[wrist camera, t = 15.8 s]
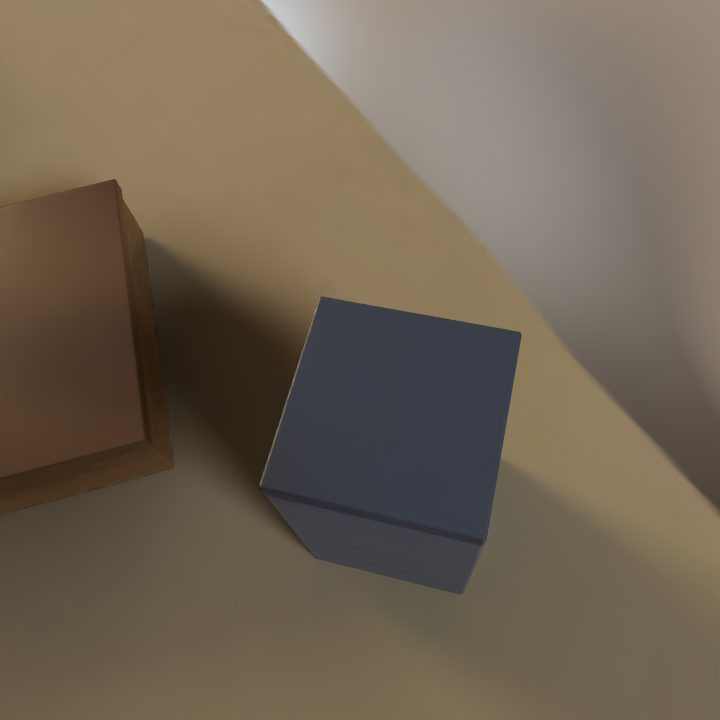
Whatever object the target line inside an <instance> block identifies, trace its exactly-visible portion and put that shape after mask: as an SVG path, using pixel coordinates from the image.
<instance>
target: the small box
mask: <svg viewBox="0 0 720 720" xmlns="http://www.w3.org/2000/svg"><path fill="white" fill-rule="evenodd" d="M521 336H522V335H521V333H520V332H517V331H511V330H506V329H500V328H495V327H489V326H483V325H478V324H472V323H467V322H461V321H455V320H450V319H444V318H439V317H433V316H427V315H422V314H416V313H411V312H405V311H399V310H394V309H388V308H383V307H377V306H371V305H366V304H360V303H355V302H349V301H343V300H338V299H332V298H327V297H320V298H319V300H318V303H317V306H316V309H315V312H314V316H313V319H312V322H311V325H310V328H309V331H308V334H307V337H306V341H305V344H304V347H303V350H302V353H301V356H300V359H299V362H298V366H297V369H296V372H295V375H294V378H293V381H292V384H291V387H290V391H289V394H288V397H287V400H286V403H285V406H284V409H283V412H282V416H281V419H280V422H279V425H278V428H277V431H276V434H275V438H274V441H273V444H272V447H271V450H270V453H269V456H268V459H267V463H266V466H265V469H264V472H263V475H262V478H261V481H260V484H259V488H260V489H261V490H262V492H263V493H264V494H265V495H266V497H267V498H268V499H269V500H270V502H271V503H272V504H273V505H274V507H275V508H276V509H277V510H278V512H279V513H280V514H281V516H282V517H283V518H284V519H285V521H286V522H287V523H288V524H289V526H290V527H291V528H292V529H293V531H294V532H295V533H296V535H297V536H298V537H299V538H300V540H301V541H302V542H303V543H304V545H305V546H306V547H307V548H308V550H309V551H310V552H311V554H312V555H313V556H314V557H315V558H317V559H321V560H325V561H329V562H333V563H337V564H341V565H345V566H349V567H353V568H357V569H361V570H365V571H369V572H373V573H377V574H381V575H385V576H389V577H393V578H397V579H401V580H405V581H409V582H413V583H417V584H421V585H425V586H429V587H433V588H437V589H441V590H445V591H449V592H453V593H457V594H463V593H464V590H465V588H466V586H467V583H468V581H469V578H470V576H471V574H472V571H473V569H474V567H475V564H476V562H477V560H478V557H479V555H480V552H481V550H482V548H483V545H484V543H485V541H486V539H487V533H488V527H489V521H490V515H491V510H492V504H493V498H494V492H495V486H496V481H497V475H498V469H499V463H500V457H501V452H502V446H503V440H504V434H505V428H506V423H507V417H508V411H509V405H510V399H511V394H512V388H513V382H514V376H515V370H516V365H517V359H518V353H519V347H520V341H521Z"/></svg>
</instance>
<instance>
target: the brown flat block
mask: <svg viewBox="0 0 720 720" xmlns="http://www.w3.org/2000/svg"><path fill="white" fill-rule="evenodd" d="M172 468H174V461H173V453H172V446H171V438H170V431H169V423H168V416H167V408H166V401H165V393H164V386H163V378H162V371H161V363H160V356H159V348H158V341H157V333H156V326H155V318H154V311H153V304H152V296H151V289H150V281H149V274H148V266H147V259H146V251H145V244H144V236H143V232H142V230H141V228H140V227H139V225H138V223H137V222H136V220H135V218H134V217H133V215H132V213H131V212H130V210H129V209H128V207H127V205H126V204H125V202H124V200H123V198H122V190H121V188H120V186H119V185H118V183H117V181H116V180H115V179H113V180H109V181H105V182H101V183H97V184H93V185H89V186H85V187H81V188H77V189H73V190H69V191H65V192H61V193H57V194H53V195H49V196H45V197H41V198H37V199H33V200H29V201H25V202H21V203H17V204H13V205H9V206H5V207H1V208H0V514H3V513H7V512H11V511H15V510H18V509H22V508H26V507H30V506H33V505H37V504H41V503H45V502H48V501H52V500H56V499H60V498H63V497H67V496H71V495H74V494H78V493H82V492H86V491H89V490H93V489H97V488H101V487H104V486H108V485H112V484H116V483H119V482H123V481H127V480H131V479H134V478H138V477H142V476H146V475H149V474H153V473H157V472H160V471H164V470H168V469H172Z"/></svg>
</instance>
